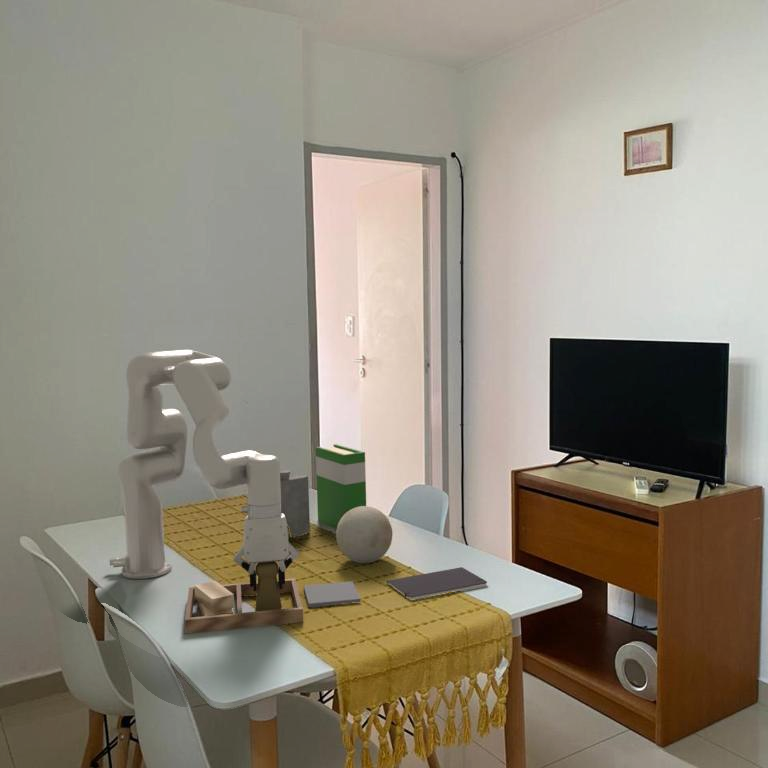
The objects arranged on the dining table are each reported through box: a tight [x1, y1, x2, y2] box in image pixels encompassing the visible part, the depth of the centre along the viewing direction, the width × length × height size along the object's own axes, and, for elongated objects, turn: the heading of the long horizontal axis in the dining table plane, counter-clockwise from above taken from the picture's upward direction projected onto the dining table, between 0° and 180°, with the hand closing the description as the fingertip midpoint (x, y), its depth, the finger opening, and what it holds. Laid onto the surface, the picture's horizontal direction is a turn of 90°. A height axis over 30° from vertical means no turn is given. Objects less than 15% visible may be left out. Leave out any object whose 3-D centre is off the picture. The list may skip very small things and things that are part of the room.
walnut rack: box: [184, 578, 304, 634], centre depth 184 cm, size 25×20×3 cm
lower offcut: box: [198, 601, 234, 617], centre depth 183 cm, size 6×14×3 cm, turn 19°
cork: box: [254, 561, 283, 612], centre depth 184 cm, size 6×6×11 cm
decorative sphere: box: [335, 505, 394, 564], centre depth 216 cm, size 15×15×15 cm
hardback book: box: [315, 443, 367, 531], centre depth 251 cm, size 18×7×24 cm, turn 33°
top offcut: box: [194, 580, 235, 612], centre depth 182 cm, size 5×11×3 cm, turn 33°
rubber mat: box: [303, 581, 362, 608], centre depth 192 cm, size 12×12×1 cm
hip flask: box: [280, 469, 311, 538], centre depth 240 cm, size 16×4×20 cm, turn 121°
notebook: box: [386, 567, 488, 599], centre depth 197 cm, size 13×2×21 cm
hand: (267, 587), depth 184 cm, fingers closed on cork, 5 cm apart
